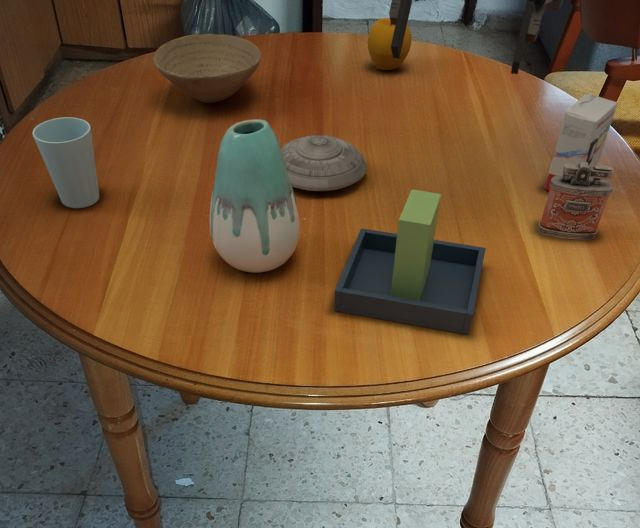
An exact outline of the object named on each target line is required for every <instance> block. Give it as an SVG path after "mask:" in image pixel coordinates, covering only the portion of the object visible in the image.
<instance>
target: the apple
mask: <svg viewBox="0 0 640 528" xmlns="http://www.w3.org/2000/svg"><path fill="white" fill-rule="evenodd" d="M394 30H395V25H392V24H391V22H390V17H384V18H379V19H378V20H376V21H375V22H374V23H373V25H372V26H371V27H370V30H369V33H368V36H367V50H368V54H369V57H370V59H371V61H372V63H373V65H374V67H375V68H376V69H378V70H380V71H393V70H396V69H397V68H400V66H401V65H402V64H403V63H404V61H405V60H406V58H407V57H408V55H409V53H410V51H411V46H412V37H413V36H412V32H411V29H410V26H409V24H408V23H407V27H406V31H405V36H404V40H403V45H402V49H401V54H400V59H396V58H393V55H392V50H391V43H392V39H393V34H394Z"/></svg>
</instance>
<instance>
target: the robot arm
mask: <svg viewBox="0 0 640 528" xmlns="http://www.w3.org/2000/svg"><path fill="white" fill-rule="evenodd" d="M563 1H564V0H526V4H525V9H524V11H523V12H524V13H523V16H522V21H521V26H520V30H519V33H518V37H517V43H516V45H515V51H514V54H513V59H512V62H511V63H512V65H511V70H510V74H512V75H518V74H519V70H520V66H521V62H522V57H523V53H524V49H525V45H526V42H533V43H534V42H535V41H536V40H537V38H538V35H539V31H540V26H541V23H542V19H543V15H544V13H545V12H546V11H548V10H553V11H557V10H560V9H561V8H562V5H563ZM412 4H413V0H391V3H390V8H389V11H388V14H389V15H388V16H389V18H390V22H391V24H392V25H395V30H394V34H393V39H392V43H391V50H392V55H393V58H396V59H400V54H401V49H402V45H403V40H404V36H405V31H406V27H407V24H408V22H409V18H410V14H411V9H412Z"/></svg>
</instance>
